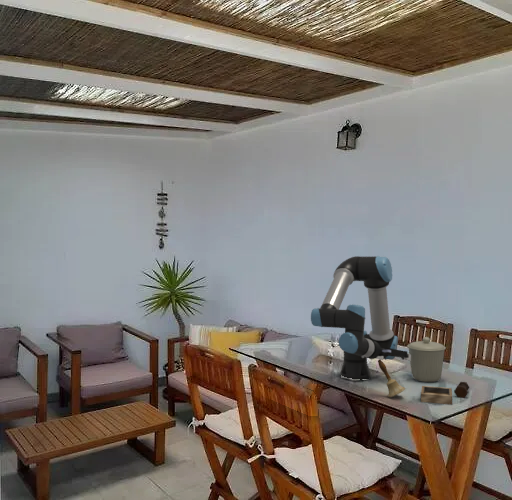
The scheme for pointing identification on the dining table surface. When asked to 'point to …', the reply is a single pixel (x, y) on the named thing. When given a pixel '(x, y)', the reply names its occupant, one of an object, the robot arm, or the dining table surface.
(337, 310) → the robot arm
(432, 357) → the canister
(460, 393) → the bolt
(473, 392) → the dining table surface
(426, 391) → the square tray
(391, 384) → the hand bell
